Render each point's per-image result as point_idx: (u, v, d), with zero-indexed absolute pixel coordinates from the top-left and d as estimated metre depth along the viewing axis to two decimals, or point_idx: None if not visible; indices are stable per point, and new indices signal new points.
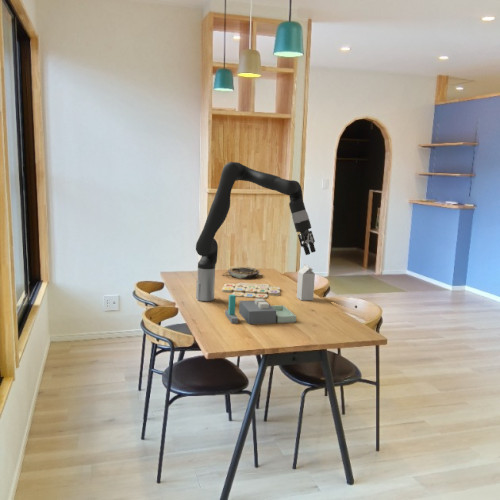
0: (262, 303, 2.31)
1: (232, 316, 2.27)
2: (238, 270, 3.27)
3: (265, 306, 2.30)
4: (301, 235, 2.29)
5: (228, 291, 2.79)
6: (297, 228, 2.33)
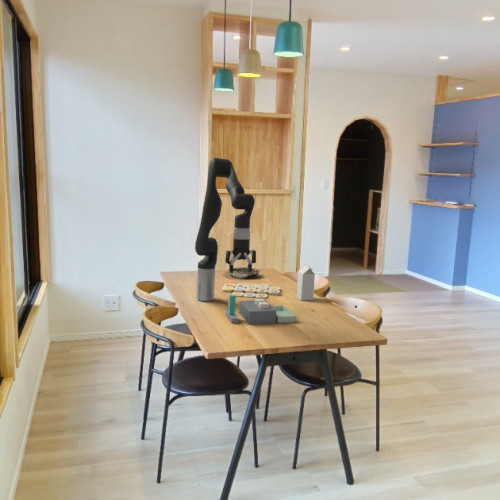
0: (262, 303, 2.31)
1: (232, 316, 2.27)
2: (238, 270, 3.27)
3: (265, 306, 2.30)
4: (227, 252, 2.23)
5: (228, 291, 2.79)
6: None
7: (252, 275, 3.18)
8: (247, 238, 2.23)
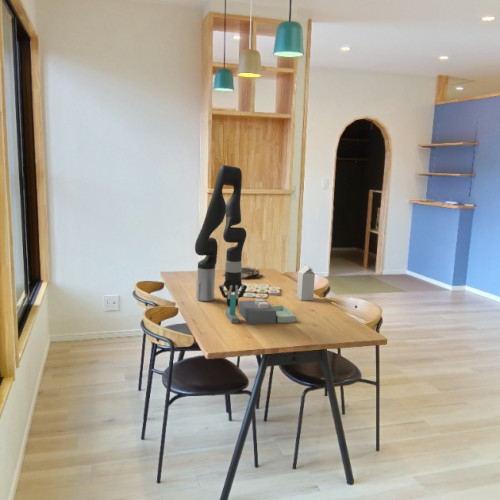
0: (262, 303, 2.31)
1: (232, 316, 2.27)
2: None
3: (265, 306, 2.30)
4: (219, 288, 2.27)
5: None
6: None
7: (252, 275, 3.17)
8: (238, 271, 2.25)
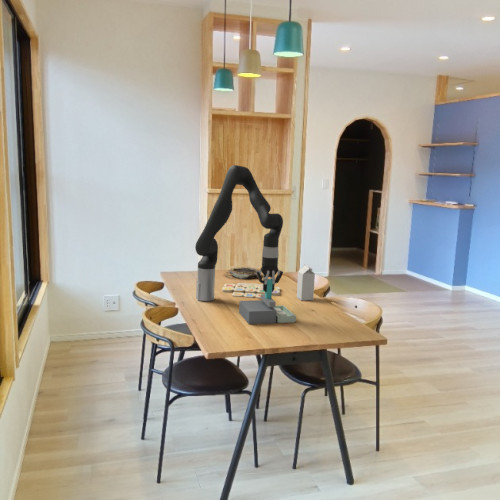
0: None
1: (269, 300, 2.31)
2: (239, 270, 3.26)
3: None
4: (256, 273, 2.31)
5: (228, 291, 2.79)
6: None
7: (253, 275, 3.17)
8: (275, 257, 2.29)
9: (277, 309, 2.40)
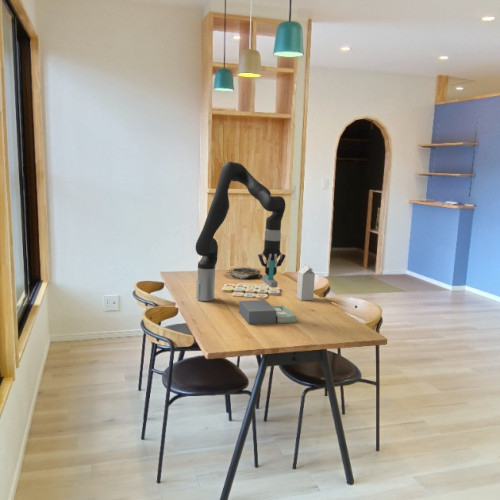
0: None
1: (271, 280, 2.30)
2: (239, 270, 3.26)
3: None
4: (259, 257, 2.30)
5: (228, 291, 2.79)
6: None
7: (253, 275, 3.17)
8: (278, 240, 2.28)
9: (277, 309, 2.40)
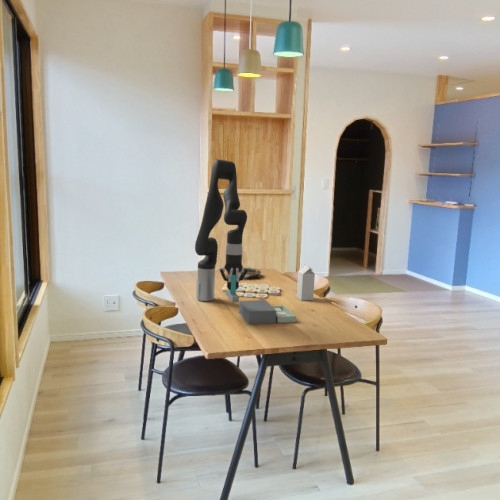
0: None
1: (233, 295, 2.26)
2: None
3: None
4: (220, 271, 2.26)
5: None
6: None
7: (254, 276, 3.17)
8: (239, 254, 2.24)
9: (277, 309, 2.40)
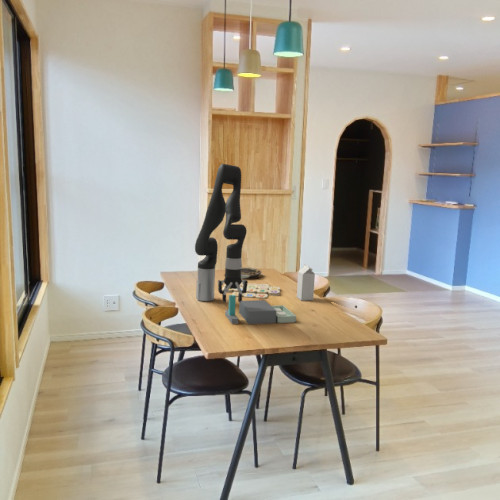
0: None
1: (232, 316, 2.27)
2: None
3: None
4: (218, 282, 2.27)
5: (228, 291, 2.79)
6: None
7: (254, 276, 3.17)
8: (238, 268, 2.25)
9: (277, 309, 2.40)
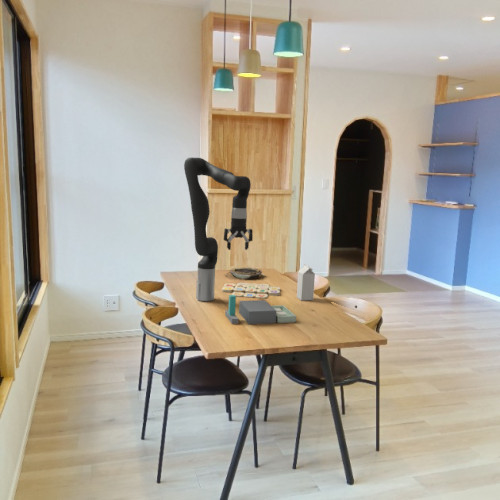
0: None
1: (232, 316, 2.27)
2: (240, 271, 3.26)
3: None
4: (225, 230, 2.41)
5: (228, 291, 2.79)
6: None
7: (255, 276, 3.17)
8: (243, 217, 2.39)
9: (277, 309, 2.40)
